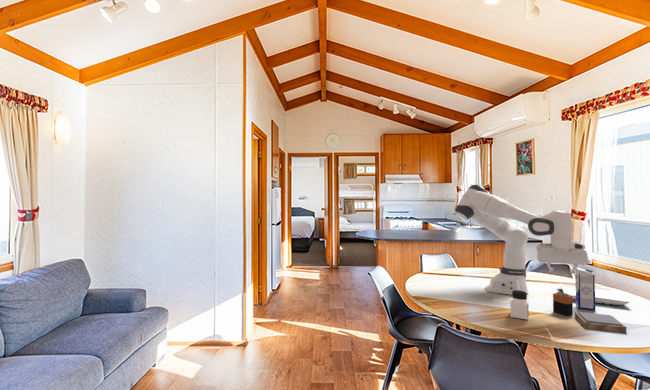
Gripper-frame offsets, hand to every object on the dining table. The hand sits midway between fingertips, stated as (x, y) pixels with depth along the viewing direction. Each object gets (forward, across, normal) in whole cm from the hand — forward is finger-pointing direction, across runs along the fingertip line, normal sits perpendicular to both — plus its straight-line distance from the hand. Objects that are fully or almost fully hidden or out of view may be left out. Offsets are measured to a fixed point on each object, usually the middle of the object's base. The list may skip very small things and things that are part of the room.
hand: (561, 272), depth 161 cm
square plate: (+20, +22, +38) cm, 48 cm away
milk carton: (+20, +13, +14) cm, 28 cm away
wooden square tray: (+20, +11, -11) cm, 25 cm away
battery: (+20, 0, 0) cm, 20 cm away
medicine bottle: (+20, -20, -12) cm, 30 cm away
